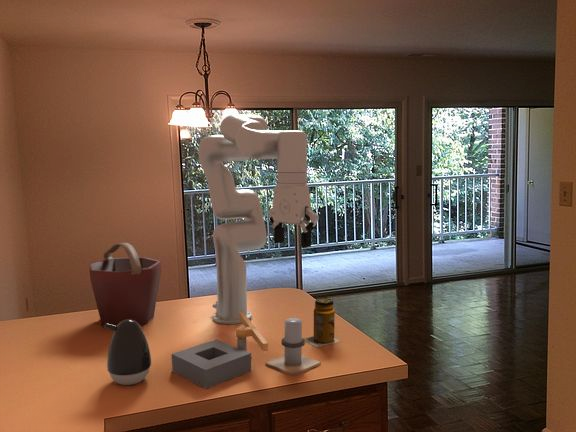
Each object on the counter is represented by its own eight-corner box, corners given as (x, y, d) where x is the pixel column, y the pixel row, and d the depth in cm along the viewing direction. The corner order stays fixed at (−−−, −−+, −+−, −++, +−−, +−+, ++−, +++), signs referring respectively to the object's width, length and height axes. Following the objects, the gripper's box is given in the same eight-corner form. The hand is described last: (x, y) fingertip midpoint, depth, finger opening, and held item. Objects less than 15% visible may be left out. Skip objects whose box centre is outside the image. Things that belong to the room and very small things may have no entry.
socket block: (172, 371, 133) (171, 347, 132) (232, 350, 147) (231, 328, 146) (206, 388, 123) (205, 362, 122) (267, 364, 137) (266, 340, 136)
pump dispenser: (112, 372, 132) (109, 313, 130) (155, 370, 133) (152, 312, 131) (102, 390, 122) (98, 327, 120) (147, 389, 123) (145, 325, 121)
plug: (276, 362, 136) (276, 321, 135) (291, 355, 141) (292, 315, 139) (293, 368, 132) (294, 326, 131) (309, 361, 137) (309, 320, 135)
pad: (265, 364, 137) (265, 362, 136) (292, 354, 144) (292, 351, 144) (293, 376, 130) (293, 374, 130) (320, 364, 137) (320, 362, 137)
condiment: (340, 341, 153) (340, 301, 151) (317, 347, 148) (317, 306, 147) (325, 334, 159) (325, 295, 157) (302, 340, 154) (301, 299, 153)
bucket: (91, 312, 180) (87, 240, 177) (157, 305, 189) (154, 235, 185) (93, 336, 158) (89, 253, 155) (168, 326, 166) (166, 248, 163)
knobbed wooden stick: (247, 353, 127) (246, 345, 127) (225, 320, 152) (225, 313, 152) (267, 351, 129) (267, 343, 129) (243, 318, 153) (243, 311, 153)
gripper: (258, 178, 139) (259, 242, 142) (307, 181, 127) (307, 251, 130) (278, 177, 145) (279, 239, 147) (327, 179, 133) (327, 247, 135)
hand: (292, 244), depth 138 cm, fingers open, 9 cm apart
